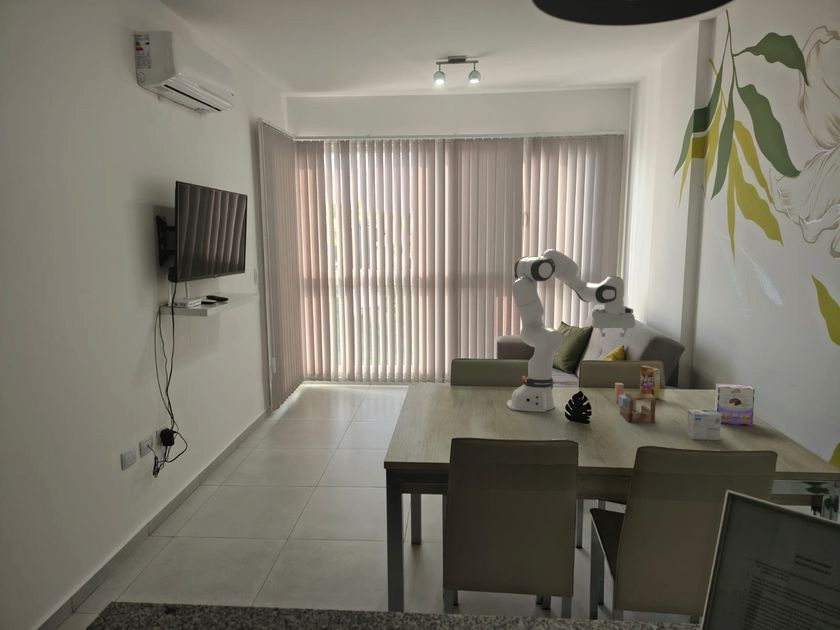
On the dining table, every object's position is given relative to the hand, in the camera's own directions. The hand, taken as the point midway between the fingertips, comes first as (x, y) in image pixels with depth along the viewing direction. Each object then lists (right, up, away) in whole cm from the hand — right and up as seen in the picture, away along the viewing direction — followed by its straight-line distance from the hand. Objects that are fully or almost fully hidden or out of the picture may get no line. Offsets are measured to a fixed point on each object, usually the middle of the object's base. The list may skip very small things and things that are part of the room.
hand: (612, 336), depth 267 cm
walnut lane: (+1, -35, -28) cm, 45 cm away
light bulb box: (+18, -38, -51) cm, 66 cm away
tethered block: (+2, -33, -9) cm, 34 cm away
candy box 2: (+40, -36, -34) cm, 63 cm away
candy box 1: (+20, -31, +5) cm, 37 cm away
